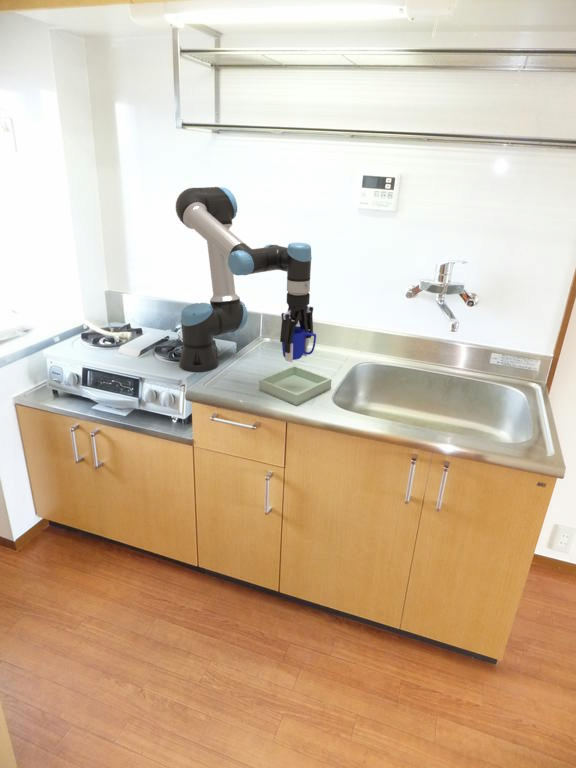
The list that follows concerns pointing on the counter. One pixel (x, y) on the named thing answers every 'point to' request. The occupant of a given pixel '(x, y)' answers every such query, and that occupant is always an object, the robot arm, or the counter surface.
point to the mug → (299, 343)
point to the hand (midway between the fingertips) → (296, 358)
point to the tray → (295, 385)
